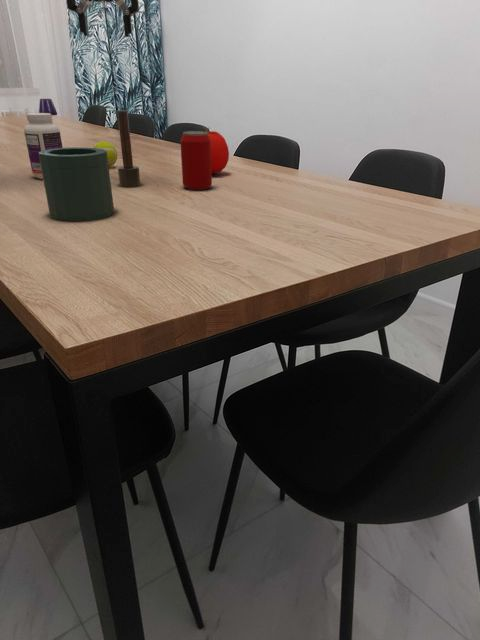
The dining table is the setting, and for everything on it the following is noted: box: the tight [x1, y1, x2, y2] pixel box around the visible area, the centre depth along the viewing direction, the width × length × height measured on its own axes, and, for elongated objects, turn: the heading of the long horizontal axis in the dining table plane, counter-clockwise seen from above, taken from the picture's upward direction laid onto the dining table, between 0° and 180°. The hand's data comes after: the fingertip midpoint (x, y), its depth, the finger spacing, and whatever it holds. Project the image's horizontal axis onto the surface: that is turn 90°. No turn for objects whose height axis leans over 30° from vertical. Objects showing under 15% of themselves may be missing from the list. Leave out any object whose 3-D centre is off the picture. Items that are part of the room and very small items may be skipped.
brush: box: [116, 109, 142, 188], centre depth 115 cm, size 5×5×16 cm
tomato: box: [201, 127, 230, 174], centre depth 131 cm, size 12×12×11 cm
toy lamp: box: [38, 98, 58, 123], centre depth 140 cm, size 5×5×17 cm
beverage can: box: [179, 130, 213, 191], centre depth 115 cm, size 7×7×12 cm
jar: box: [38, 146, 115, 222], centre depth 92 cm, size 11×11×11 cm
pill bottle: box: [23, 112, 64, 180], centre depth 122 cm, size 8×8×14 cm
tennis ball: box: [93, 141, 118, 168], centre depth 138 cm, size 7×7×7 cm
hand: (106, 36), depth 107 cm, fingers open, 8 cm apart
